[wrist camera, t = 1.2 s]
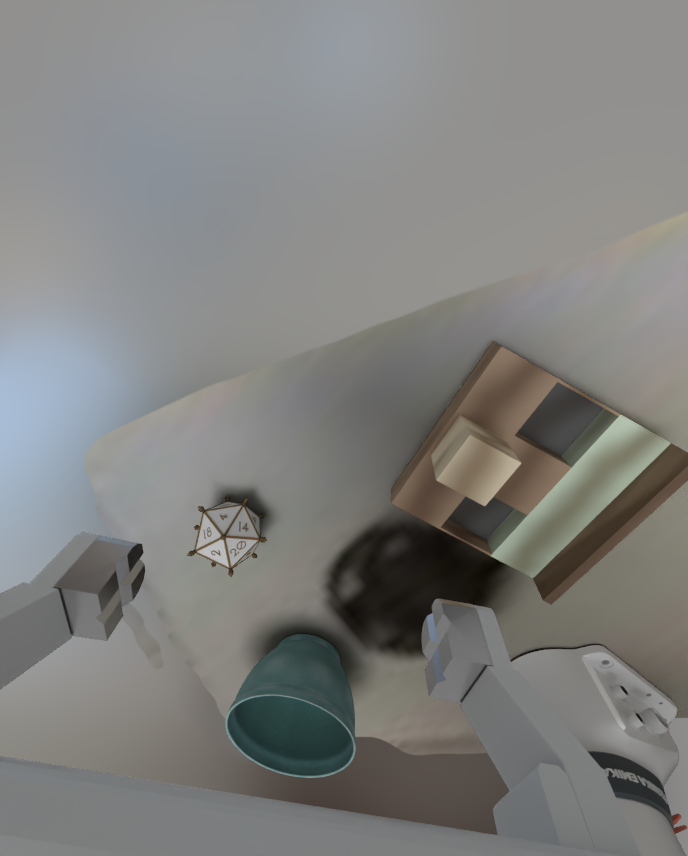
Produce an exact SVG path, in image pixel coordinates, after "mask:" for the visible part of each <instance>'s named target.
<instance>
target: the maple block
mask: <svg viewBox="0 0 688 856" xmlns="http://www.w3.org/2000/svg"><path fill="white" fill-rule="evenodd" d="M431 458H432V463H433V468H434V472H435V477H436V480H437V481H438V482H440V483H442V484H444V485H446V486H448V487H450V488H451V489H453V490H455V491H457V492H459V493H461V494H463V495H465V496H466V497H468V498H470V499H472V500H474V501H476V502H478V503H479V504H481V505H483V506H486V505H487V504H488V502H489V501H490V500H491V499H492V498H493V496H494V495H495V494H496V493H497V492H498V491H499V489H500V488H501V487H502V486H503V485H504V483H505V482H506V481H507V480H508V479H509V478H510V476H511V475H512V474H513V473H514V472H515V470H516V469H517V468H518V467H519V466H520V465H521V462H520V460H519V459H518V457H517V456H516V454H515V453H514V452H513V450H512V449H511V447H510V446H509V444H508V443H507V442H506V440H505V439H503V438H502V437H500V436H498V435H496V434H494V433H493V432H491V431H489V430H487V429H485V428H483V427H482V426H480V425H478V424H476V423H474V422H473V421H471V420H469V419H467V418H465V417H464V416H462V415H459V417H458V418H457V419H456V421H455V422H454V424H453V425H452V427H451V428H450V429H449V431H448V432H447V434H446V435H445V436H444V438H443V439H442V441H441V442H440V443H439V445H438V446H437V448H436V449H435V450H434V452H433V453H432V455H431Z"/></svg>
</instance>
